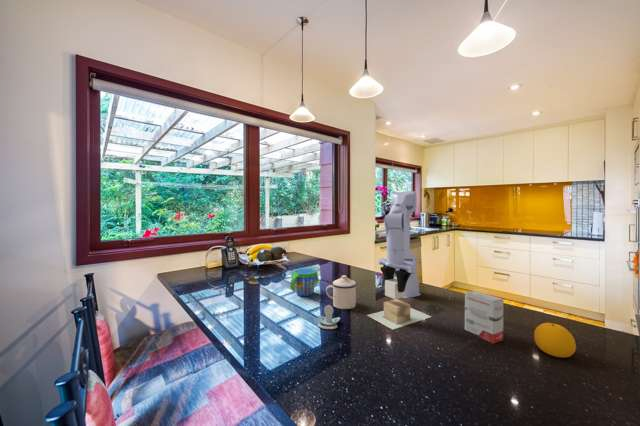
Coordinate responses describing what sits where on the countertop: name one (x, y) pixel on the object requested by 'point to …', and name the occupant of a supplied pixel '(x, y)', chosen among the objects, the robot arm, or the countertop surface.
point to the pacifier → (328, 319)
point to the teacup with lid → (343, 293)
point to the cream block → (393, 289)
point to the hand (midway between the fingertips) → (395, 289)
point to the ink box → (484, 316)
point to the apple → (554, 340)
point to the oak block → (397, 311)
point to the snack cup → (304, 281)
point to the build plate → (392, 325)
